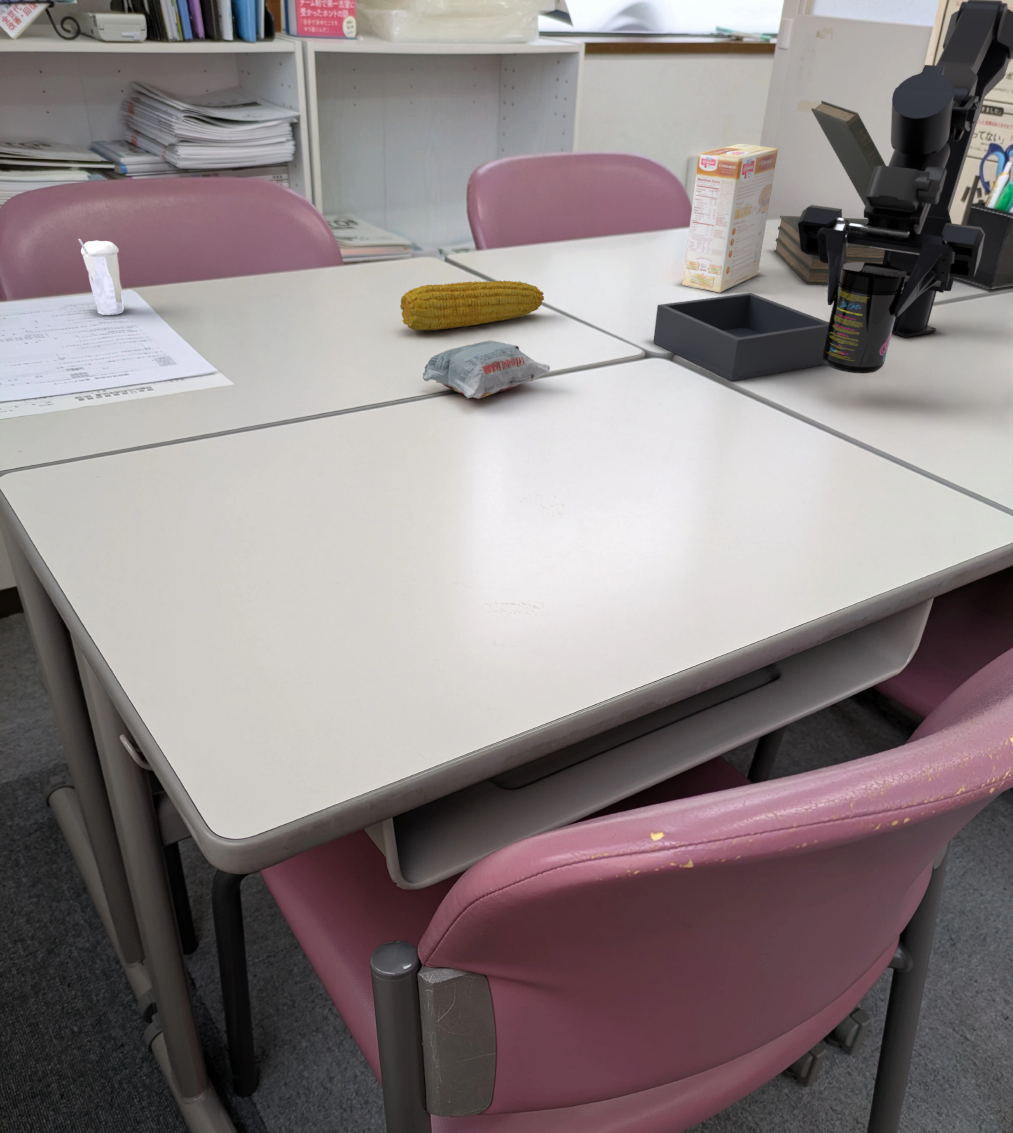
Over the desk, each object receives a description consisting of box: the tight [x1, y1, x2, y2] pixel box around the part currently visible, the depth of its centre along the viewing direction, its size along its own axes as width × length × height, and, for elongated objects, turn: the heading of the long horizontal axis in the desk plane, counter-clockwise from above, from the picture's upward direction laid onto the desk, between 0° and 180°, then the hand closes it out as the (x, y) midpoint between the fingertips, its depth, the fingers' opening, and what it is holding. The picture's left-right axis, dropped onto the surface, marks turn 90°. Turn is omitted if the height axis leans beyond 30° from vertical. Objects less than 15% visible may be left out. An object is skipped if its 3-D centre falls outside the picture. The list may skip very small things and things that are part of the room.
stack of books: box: [773, 100, 887, 286], centre depth 156 cm, size 23×20×25 cm
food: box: [400, 280, 545, 331], centre depth 126 cm, size 21×6×6 cm, turn 123°
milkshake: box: [77, 238, 125, 316], centre depth 124 cm, size 4×5×10 cm
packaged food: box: [422, 339, 551, 400], centre depth 105 cm, size 9×12×5 cm
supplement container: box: [822, 262, 907, 375], centre depth 103 cm, size 7×7×10 cm
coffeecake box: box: [681, 143, 779, 293], centre depth 147 cm, size 15×7×20 cm, turn 144°
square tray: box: [652, 292, 829, 382], centre depth 120 cm, size 16×16×5 cm
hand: (861, 308), depth 101 cm, fingers closed on supplement container, 7 cm apart
